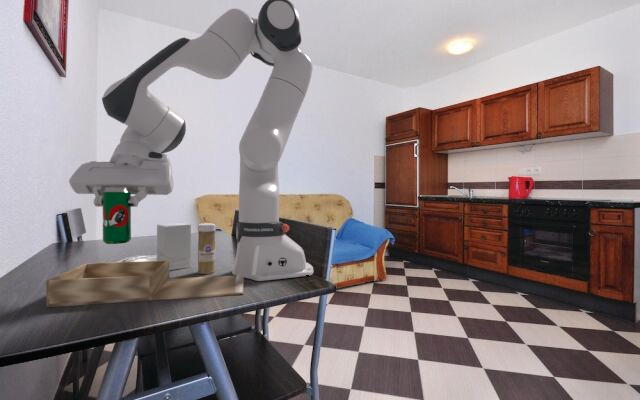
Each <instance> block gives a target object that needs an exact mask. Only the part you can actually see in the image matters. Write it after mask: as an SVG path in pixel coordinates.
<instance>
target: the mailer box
mask: <svg viewBox="0 0 640 400" xmlns="http://www.w3.org/2000/svg"><path fill="white" fill-rule="evenodd" d="M244 280H245V278H244V277H243V276H238V275H234V274H233V275H219V276H218V275H217V276H199V277H182V278H181V277H178V278H177V277H176V278H175V277H173V278H170V270H169V260H167V261H157V260H144V261H143V260H141V261H116V262H115V261H114V262H113V261H112V262H91V263H89V262H88V263H87V262H86V263H84V264H81V265H79V266H77V267H74V268H72V269H69V270H67V271H66V272H63V273H61V274H58V275H57V276H54V277H51V278H49V279H48V280H46V281H45V287H46V288H45V289H46V290H45V292H46V294H45V295H46V296H45V297H46V298H45V299H46V300H45V301H46V302H45V304H46V306H45V307H46V308H52V307H53V308H54V307H55V308H56V307H71V306H73V307H74V306H87V305H101V304H102V305H104V304H115V303H132V302H133V303H134V302H147V301H148V302H150V301H162V300H163V301H164V300H176V299H177V300H179V299H180V300H181V299H191V298H192V299H194V298H206V297H207V298H210V297H224V296H225V297H226V296H227V297H228V296H239V295H240V294H242V295H244V287H245V286H244V282H245V281H244Z"/></svg>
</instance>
